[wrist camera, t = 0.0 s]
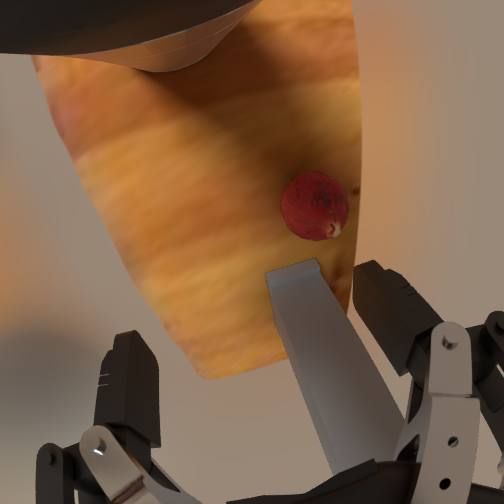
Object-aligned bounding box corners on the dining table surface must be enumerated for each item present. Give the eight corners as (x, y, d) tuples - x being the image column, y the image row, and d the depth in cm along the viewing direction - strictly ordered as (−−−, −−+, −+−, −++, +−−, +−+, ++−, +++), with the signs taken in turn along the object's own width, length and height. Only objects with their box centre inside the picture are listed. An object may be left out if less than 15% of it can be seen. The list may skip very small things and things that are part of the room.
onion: (269, 163, 25) (302, 200, 18) (327, 158, 25) (374, 192, 19) (271, 219, 28) (299, 269, 22) (324, 211, 29) (363, 256, 22)
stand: (264, 273, 32) (383, 570, 6) (314, 258, 32) (459, 526, 7) (276, 326, 38) (361, 550, 12) (317, 312, 38) (416, 524, 13)
